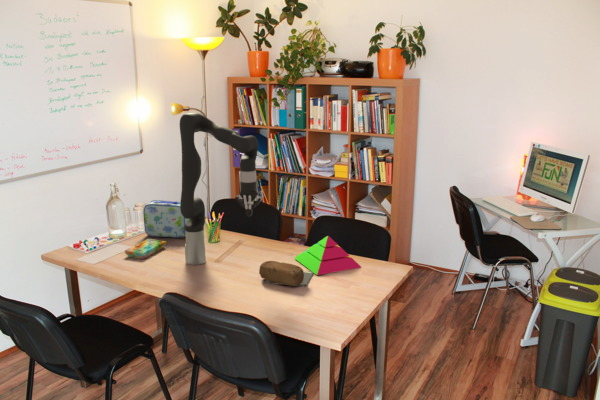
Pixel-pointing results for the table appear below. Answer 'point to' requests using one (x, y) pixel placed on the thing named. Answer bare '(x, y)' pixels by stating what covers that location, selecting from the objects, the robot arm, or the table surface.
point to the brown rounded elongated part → (282, 273)
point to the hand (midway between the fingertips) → (249, 216)
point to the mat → (305, 281)
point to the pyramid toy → (326, 258)
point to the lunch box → (164, 219)
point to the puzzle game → (145, 248)
